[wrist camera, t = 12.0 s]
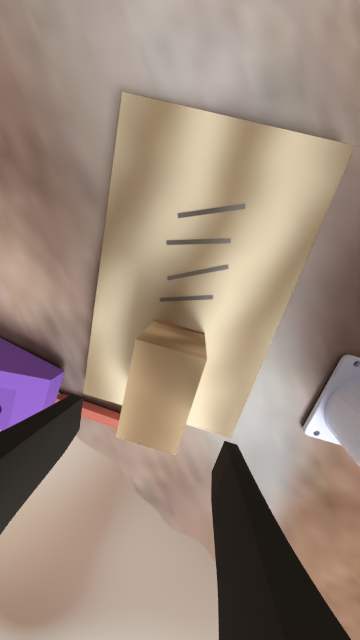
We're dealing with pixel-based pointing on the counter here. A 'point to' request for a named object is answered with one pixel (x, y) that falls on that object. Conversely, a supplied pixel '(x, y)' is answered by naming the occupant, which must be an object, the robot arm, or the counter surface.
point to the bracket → (25, 384)
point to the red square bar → (97, 413)
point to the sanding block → (162, 385)
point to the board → (205, 243)
